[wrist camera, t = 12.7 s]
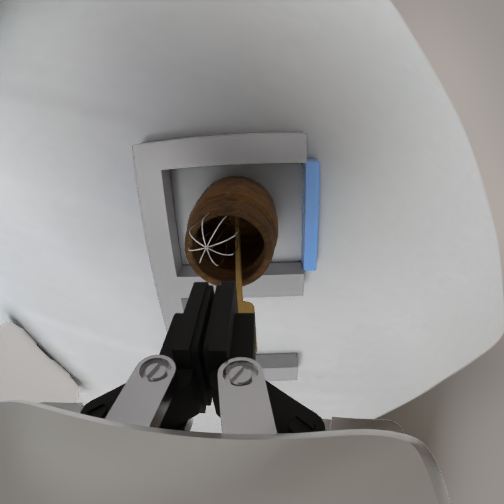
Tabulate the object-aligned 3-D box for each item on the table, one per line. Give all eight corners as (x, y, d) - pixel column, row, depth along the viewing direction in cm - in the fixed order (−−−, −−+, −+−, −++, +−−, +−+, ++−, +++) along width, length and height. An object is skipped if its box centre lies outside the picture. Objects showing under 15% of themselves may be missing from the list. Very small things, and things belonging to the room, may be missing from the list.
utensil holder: (262, 163, 22) (265, 216, 11) (285, 239, 24) (303, 343, 13) (188, 187, 22) (125, 258, 12) (215, 258, 25) (186, 365, 14)
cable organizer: (90, 388, 34) (60, 453, 24) (61, 402, 37) (36, 455, 27) (12, 312, 29) (-36, 370, 19) (-5, 338, 32) (-42, 387, 22)
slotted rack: (142, 142, 21) (132, 145, 19) (316, 132, 20) (321, 134, 19) (184, 366, 31) (180, 379, 29) (304, 365, 30) (306, 379, 29)
